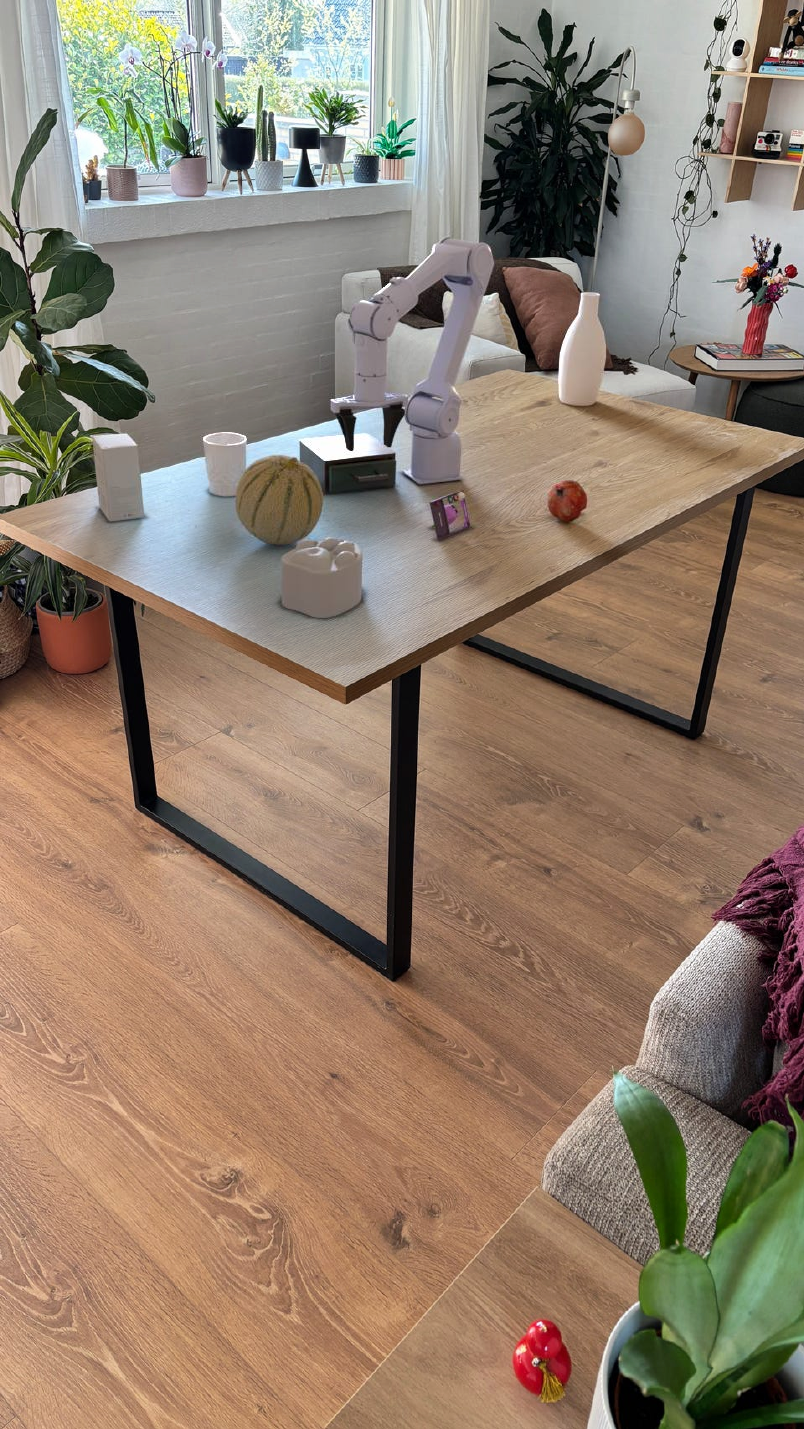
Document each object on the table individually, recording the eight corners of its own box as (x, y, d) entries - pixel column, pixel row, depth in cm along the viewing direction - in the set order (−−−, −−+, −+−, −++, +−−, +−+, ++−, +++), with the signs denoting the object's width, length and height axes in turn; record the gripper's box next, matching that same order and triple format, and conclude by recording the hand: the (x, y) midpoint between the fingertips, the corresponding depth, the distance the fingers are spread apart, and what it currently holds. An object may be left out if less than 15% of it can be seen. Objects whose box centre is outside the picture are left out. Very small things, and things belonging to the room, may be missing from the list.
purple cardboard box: (434, 501, 186) (466, 489, 192) (411, 504, 189) (443, 492, 195) (442, 540, 188) (473, 526, 194) (420, 541, 191) (451, 528, 197)
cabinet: (394, 486, 212) (395, 453, 208) (324, 494, 206) (324, 460, 203) (366, 465, 222) (367, 433, 219) (299, 472, 217) (299, 439, 213)
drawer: (405, 492, 206) (406, 468, 204) (340, 500, 201) (340, 475, 198) (369, 465, 219) (370, 441, 217) (307, 472, 214) (307, 448, 212)
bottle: (554, 405, 267) (566, 296, 254) (556, 394, 276) (567, 288, 263) (599, 409, 265) (614, 299, 252) (600, 397, 275) (614, 291, 262)
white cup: (240, 499, 202) (238, 447, 197) (200, 495, 203) (196, 442, 198) (253, 486, 208) (252, 434, 203) (214, 482, 210) (211, 430, 205)
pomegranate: (557, 520, 205) (528, 497, 198) (581, 488, 204) (553, 464, 196) (581, 537, 200) (553, 514, 193) (606, 505, 199) (579, 480, 192)
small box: (145, 518, 192) (138, 445, 185) (109, 522, 190) (101, 449, 183) (133, 503, 198) (127, 432, 192) (98, 507, 196) (90, 435, 189)
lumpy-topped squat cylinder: (272, 603, 164) (271, 549, 160) (324, 575, 174) (324, 524, 169) (327, 622, 159) (327, 567, 155) (377, 592, 169) (379, 540, 164)
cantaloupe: (243, 523, 192) (240, 439, 184) (326, 527, 192) (327, 443, 184) (229, 556, 179) (225, 467, 171) (318, 560, 179) (318, 471, 171)
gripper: (397, 365, 200) (395, 438, 207) (324, 370, 194) (324, 445, 201) (414, 374, 195) (411, 448, 202) (339, 380, 189) (338, 456, 196)
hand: (368, 447), depth 201 cm, fingers open, 7 cm apart
